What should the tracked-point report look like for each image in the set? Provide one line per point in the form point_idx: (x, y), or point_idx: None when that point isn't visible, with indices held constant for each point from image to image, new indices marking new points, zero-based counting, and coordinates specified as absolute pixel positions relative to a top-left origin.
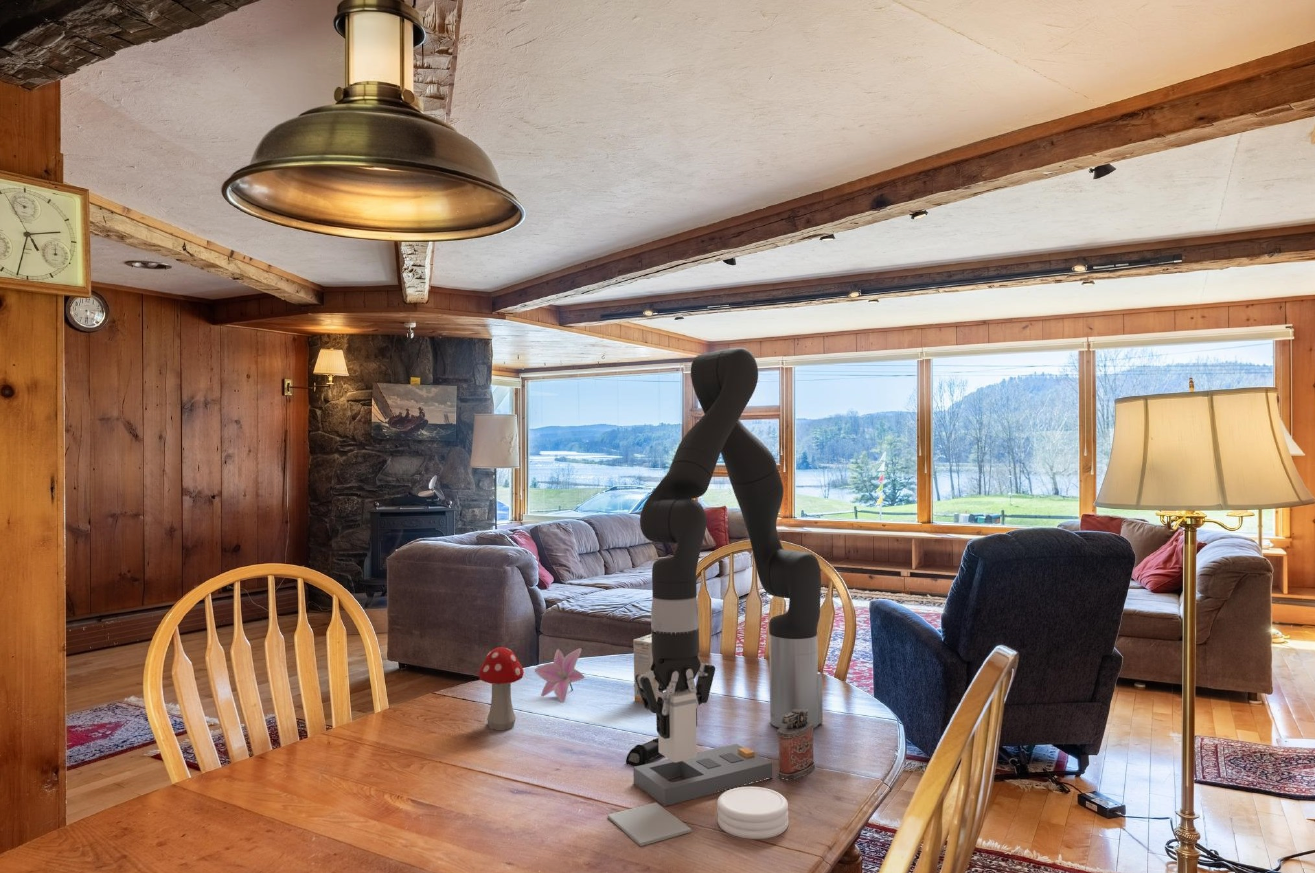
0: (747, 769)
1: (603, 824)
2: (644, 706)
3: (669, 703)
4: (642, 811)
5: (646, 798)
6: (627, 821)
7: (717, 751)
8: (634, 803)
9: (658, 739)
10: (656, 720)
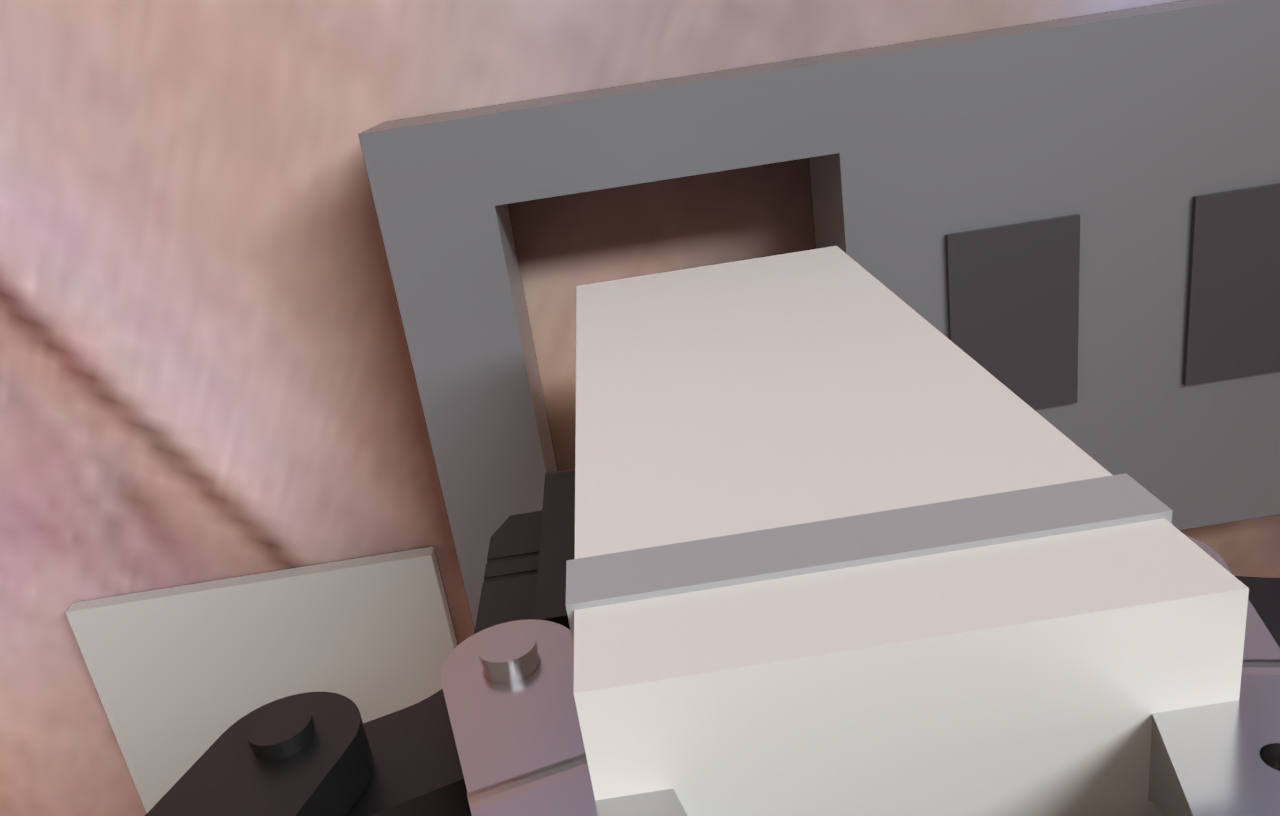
0: (1209, 520)
1: (35, 672)
2: (215, 745)
3: None
4: (305, 642)
5: (403, 427)
6: (180, 726)
7: (1251, 77)
8: (298, 471)
9: (576, 323)
10: (478, 609)
